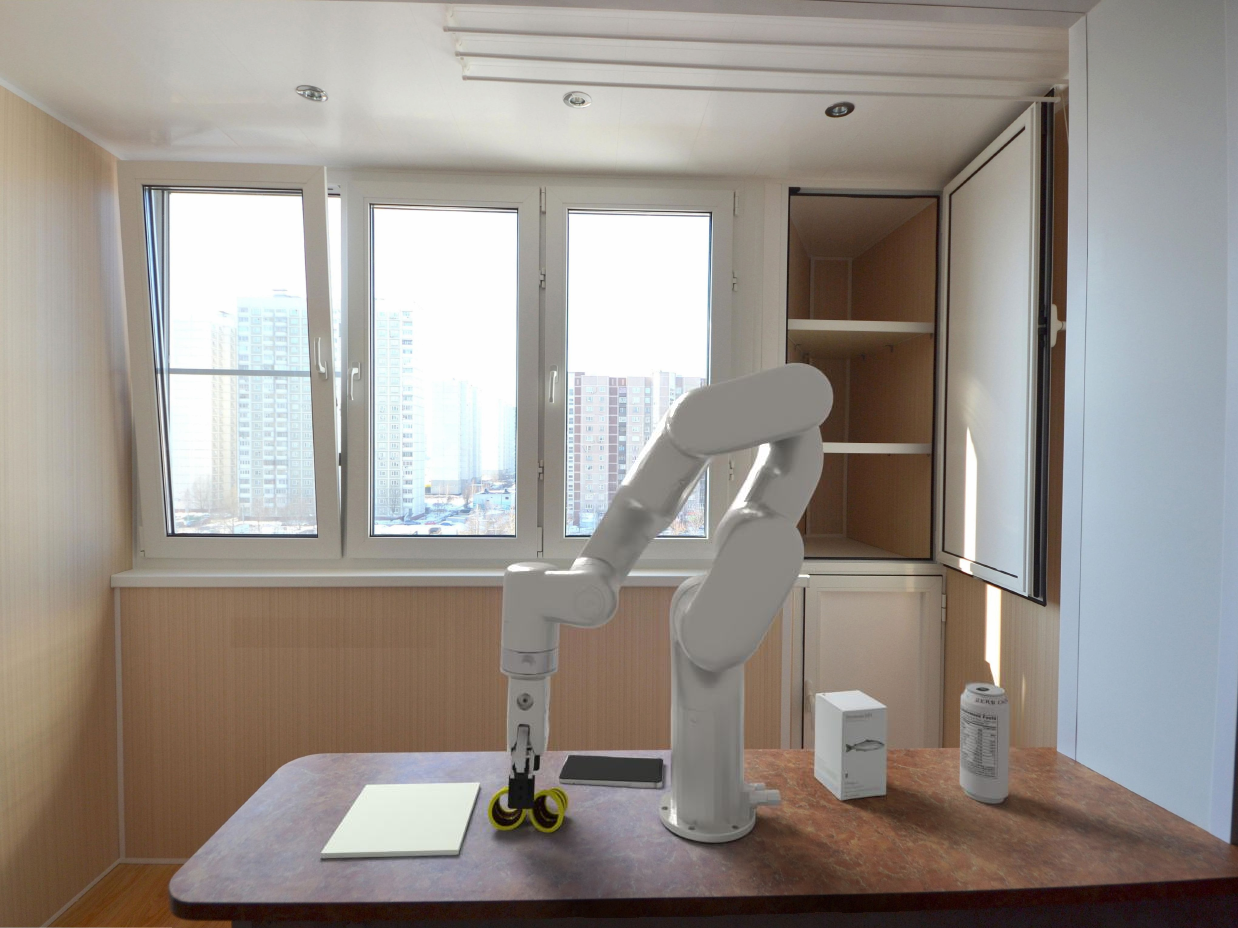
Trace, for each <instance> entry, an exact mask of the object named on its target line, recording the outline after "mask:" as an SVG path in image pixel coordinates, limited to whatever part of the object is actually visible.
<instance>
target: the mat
mask: <svg viewBox="0 0 1238 928" xmlns="http://www.w3.org/2000/svg"><path fill="white" fill-rule="evenodd" d="M480 788H481V782H480V781H479V782H439V783H437V782H436V783H435V782H434V783H431V782H430V783H396V784H395V783H394V784H393V783H389V784H385V783H384V784H366V785H365V786H364V787H363V789H362V791H361V792H360V794H359V795H358V797H357V798H356V799H355V800H354V802H353V804H352V805H351V807H350V809H349V810H348V812H347V813H346V814H345V816H344V818H343V819H342V820H341V822H340V824H339V825H338V827H337V828H336V829H335V831H333V834H332V836H331V837H330V838H329V840H328V841H327V843H326V844H325V846H324V847H323V849H322V850H321V852H320V859H340V858H341V859H343V858H345V859H346V858H347V859H348V858H381V857H382V858H383V857H420V856H421V857H423V856H457V855H459V853H460V850H461V847H462V844H463V841H464V838H465V834H466V831H467V828H468V825H469V823H470V819H471V816H472V813H473V810H474V807H475V804H476V800H477V798H478V795H479V791H480Z"/></svg>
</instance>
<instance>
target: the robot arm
mask: <svg viewBox="0 0 1238 928" xmlns="http://www.w3.org/2000/svg"><path fill="white" fill-rule="evenodd" d="M833 404H834V392H833V387H832V385H831V382H830V381H829V379H828V377H827V376H826V375H825V374H824V373H823V372H822V371H821V370H820V369H818V368H817V367H815V366H813V365H810V364H806V363H802V362H790V363H786V364H782V365H778V366H775V367H771V368H768V369H764V370H761V371H757V372H754V373H750V374H747V375H742V376H739V377H736V378H732V379H729V380H725V381H724V380H723V381H720V382H716V383H712V384H708V385H704V386H700V387H696V388H693V389H691V390H687V391H686V392H684V393H683V394H681V395H680V396H679V397H677V399H675V400H674V401H673V402H672V403H671V405H670V406H669V407H668V409H667V410H666V412H665V414H664V415H663V416H662V418H661V419H660V422H658V424H657V426H656V427H655V429H654V431H653V432H652V433H651V435H650V437H649V439H648V440H647V442H646V443H645V446H643V448H642V450H641V451H640V453H639V455H638V456H637V458H636V459H635V461H634V462H633V464H632V466H630V469H629V470H628V472H627V473H626V475H625V476H624V478H623V479H622V481H621V483H620V484H619V486H618V488H617V490H616V491H615V493H614V495H613V497H612V500H611V502H610V504H609V506H608V507H607V510H606V511H605V512H604V515H602V518H601V520H600V521H599V523H598V524H597V525H596V528H595V529H594V530H593V532H592V534H591V535H590V537H589V538H588V540H587V542H586V544H585V545H584V546H583V547H582V549H581V551H580V552H579V554H578V555H577V557H576V559H575V561H574V562H573V563H572V565H571V567H570V568H569V570H560V569H559V568H558V567H557V566H556V565H554V564H551V563H546V562H539V561H524V562H516V563H512V564H510V565H509V566H508V567H507V568H506V569H505V571H504V574H503V584H502V585H503V587H502V610H501V611H502V614H501V635H500V636H501V639H500V661H499V662H500V667H499V670H500V672H501V673H502V674H503V675H505V676H508V683H507V684H508V685H507V686H508V687H507V706H506V707H507V711H506V712H507V714H506V752H507V754H508V755H509V756H510V757H511V761H510V774H509V775H508V785H507V786H508V794H507V808H508V809H510V810H514V809H532V808H533V807H534V795H535V793H536V792H535V790H536V789H535V787H536V784H535V783H536V775H535V774H534V772H538V771H539V770H540V767H541V766H540V765H541V758H542V757H544V756H545V755H546V752H547V750H548V743H549V734H550V707H551V676H553V675H554V674H556V673H557V672H558V670H559V649H560V648H559V646H560V625H567V626H571V627H576V628H582V629H594V628H598V627H602V626H604V625H606V624H607V623H608V622H610V621H611V620H612V619H613V618H614V617H615V615H616V612H617V611H618V609H619V603H620V602H619V601H620V592H619V591H620V589H621V588H622V585H623V584H624V582H625V581H626V579H627V577H628V575H629V574H630V573H631V571H632V569H633V568H634V567H635V565H636V563H637V561H638V560H639V559H640V557H641V556H642V554H643V553H644V552H645V550H646V549H647V548H648V546H649V545H650V544H651V543H652V541H653V540H655V539H656V538H657V537H658V536H659V535H660V534H662V533H663V532H665V531H666V530H667V529H668V528H669V527H670V526H671V525H672V523H674V522H675V521H676V519H677V518H678V516H679V514H680V513H681V512H682V510H683V508H684V507H685V505H686V503H687V502H688V500H689V499H690V496H691V495H692V494H693V492H694V490H695V489H696V487H697V485H698V484H699V483H700V481H701V479H702V477H703V476H704V475H705V473H706V472H707V470H708V469H709V467H710V466H711V464H712V462H713V461H714V460H715V458H716V457H720V456H723V455H727V454H732V453H737V452H741V451H745V450H748V449H752V448H756V447H758V451H757V455H756V457H755V460H754V463H753V464H752V467H751V469H750V471H749V473H748V475H747V477H746V479H745V481H744V482H743V485H742V486H741V487H740V489H739V490H738V493H737V495H736V496H735V498H734V499H733V501H732V503H731V505H730V506H729V508H728V509H727V511H726V512H725V514H724V516H723V517H722V518H721V521H720V522H719V523H718V525H717V528H716V530H715V533H714V536H713V549H714V552H715V555H716V556H715V558H714V560H713V561H712V563H711V565H710V567H709V569H708V571H707V572H706V573H705V574H704V573H703V574H696V575H694V576H691V577H688V579H686V580H684V581H683V582H682V583H681V584H680V585H679V586H678V588H676V591H675V592H674V594H673V595H672V598H671V602H670V605H669V606H670V608H669V637H670V640H669V641H670V672H671V673H670V679H671V680H670V683H671V684H670V685H671V686H670V687H671V688H670V690H671V691H670V695H671V696H670V790H669V791H668V792H665V794H663V796H662V797H661V798H660V799H659V803H658V816H659V819H660V821H661V823H662V824H663V825H664V827H666V828H667V829H668V830H670V831H671V832H672V833H674V834H676V835H678V836H679V837H682V838H684V839H688V840H691V841H695V842H703V843H711V844H712V843H714V844H715V843H727V842H731V841H734V840H735V841H736V840H737V839H740V838H742V837H744V836H746V835H747V834H749V833H750V831H752V830H753V828H754V826H755V824H756V810H757V809H758V807H763V806H764V807H780V806H781V805H782V804H781V803H782V798H781V793H780V790H779V789H767V787H766V784H765V783H766V782H755V783H748V781H746V780H745V779H744V778H745V777H744V775H745V774H744V773H745V772H744V770H745V769H744V768H745V767H744V761H745V760H744V758H745V757H744V756H745V754H744V752H745V749H744V748H745V745H744V743H745V735H744V734H745V663H746V662H747V661H748V660H749V659H750V658H751V657H752V656H753V655H754V653H755V652H756V651H757V650H758V648H759V647H760V645H761V643H762V641H763V640H764V638H765V637H766V635H767V633H768V631H769V630H770V629H771V627H772V624H773V623H774V622H775V620H776V618H777V616H778V615H779V612H780V611H781V610H782V607H783V606H784V604H785V602H786V600H787V599H788V597H789V595H790V593H791V592H792V590H793V589H794V586H795V584H796V583H797V580H798V578H799V576H800V574H801V570H802V568H803V563H804V556H805V546H804V541H803V537H802V535H801V533H800V531H799V529H798V528H797V526H798V524H799V522H800V520H801V519H802V516H803V514H804V513H805V511H806V509H807V507H808V505H809V503H810V500H811V498H812V497H813V495H814V492H815V491H816V488H817V487H818V484H819V482H820V479H821V476H822V473H823V467H824V445H823V439H822V434H821V429H820V426H821V425H822V424H823V423H824V421H826V420H827V418H828V417H829V414H830V413H831V411H832V407H833Z"/></svg>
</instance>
